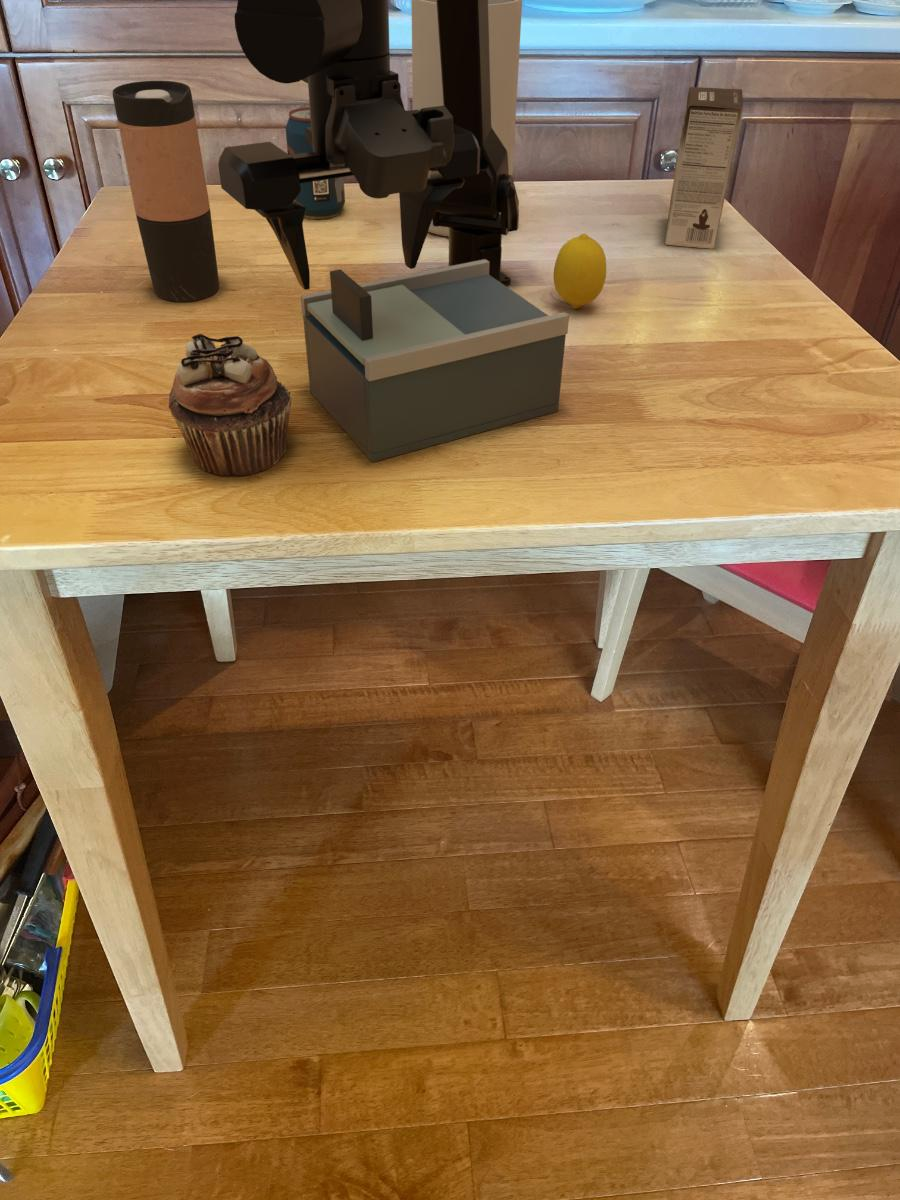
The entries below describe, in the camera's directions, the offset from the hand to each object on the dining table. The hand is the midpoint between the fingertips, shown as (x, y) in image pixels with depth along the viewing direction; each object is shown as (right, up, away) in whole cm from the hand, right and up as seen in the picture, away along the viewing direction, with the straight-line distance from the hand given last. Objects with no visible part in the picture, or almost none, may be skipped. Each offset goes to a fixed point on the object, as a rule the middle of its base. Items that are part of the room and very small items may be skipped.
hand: (358, 277), depth 73 cm
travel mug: (-22, +9, +30) cm, 38 cm away
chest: (+6, -7, +12) cm, 15 cm away
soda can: (-10, +26, +50) cm, 57 cm away
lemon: (+21, +6, +28) cm, 35 cm away
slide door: (+2, -3, +4) cm, 5 cm away
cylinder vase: (+9, +24, +47) cm, 54 cm away
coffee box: (+38, +21, +45) cm, 63 cm away
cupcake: (-11, -13, +5) cm, 18 cm away
